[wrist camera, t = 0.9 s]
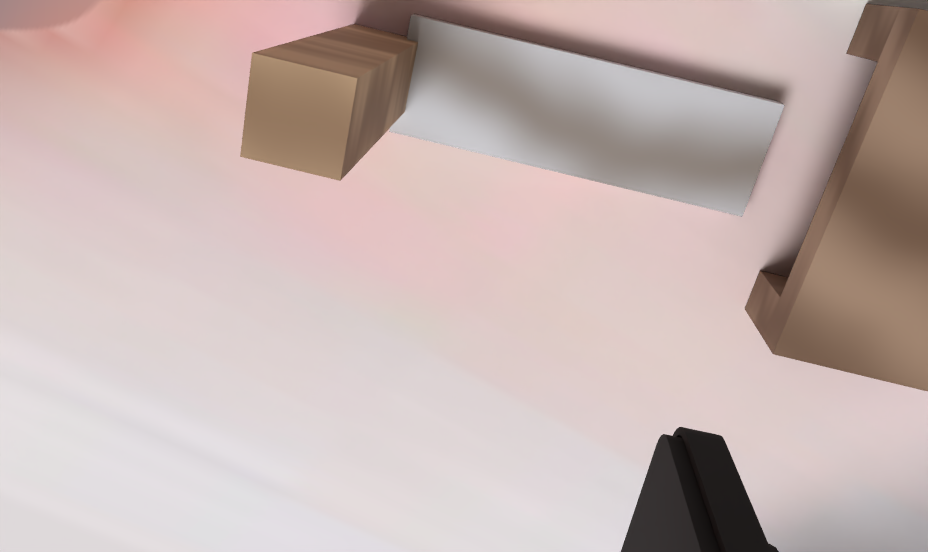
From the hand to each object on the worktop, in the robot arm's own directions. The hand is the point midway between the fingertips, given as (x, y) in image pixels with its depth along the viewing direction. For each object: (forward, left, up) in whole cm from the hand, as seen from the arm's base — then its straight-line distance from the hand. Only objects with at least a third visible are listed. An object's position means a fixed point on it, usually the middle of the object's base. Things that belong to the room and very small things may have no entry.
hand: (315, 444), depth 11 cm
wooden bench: (-1, +20, -26) cm, 33 cm away
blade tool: (-1, +4, -26) cm, 26 cm away
